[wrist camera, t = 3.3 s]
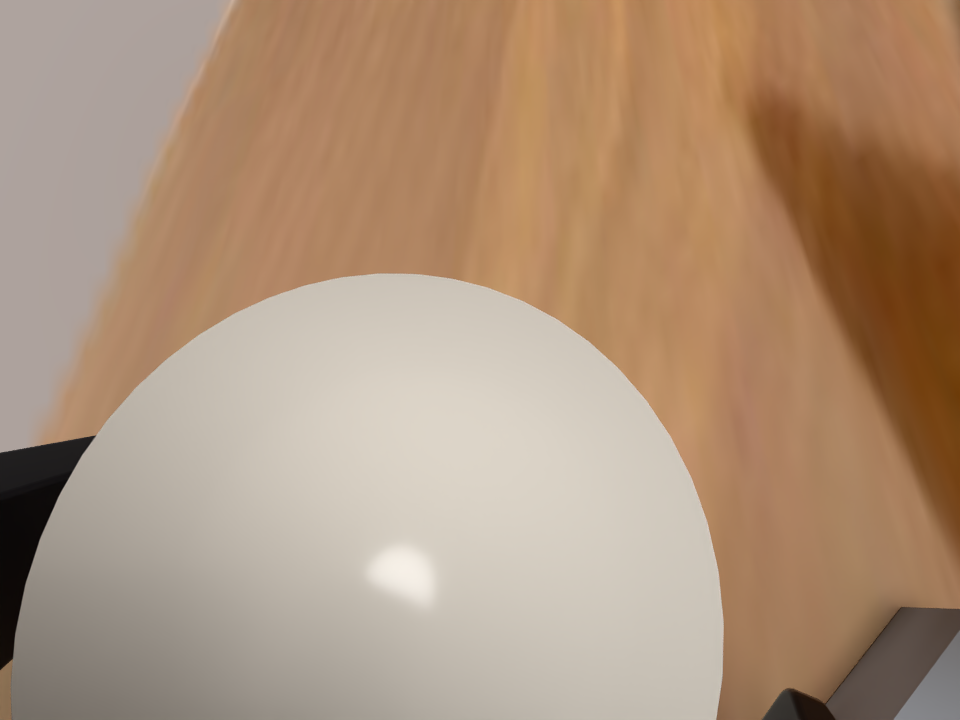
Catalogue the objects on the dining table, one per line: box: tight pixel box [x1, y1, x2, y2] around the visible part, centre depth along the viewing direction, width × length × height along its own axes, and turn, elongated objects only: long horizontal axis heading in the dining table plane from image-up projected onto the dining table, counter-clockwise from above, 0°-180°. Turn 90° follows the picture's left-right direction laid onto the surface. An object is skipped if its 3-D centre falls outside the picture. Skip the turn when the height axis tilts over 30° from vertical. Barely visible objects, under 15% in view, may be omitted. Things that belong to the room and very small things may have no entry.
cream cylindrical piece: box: [11, 274, 724, 720], centre depth 9 cm, size 8×8×12 cm
